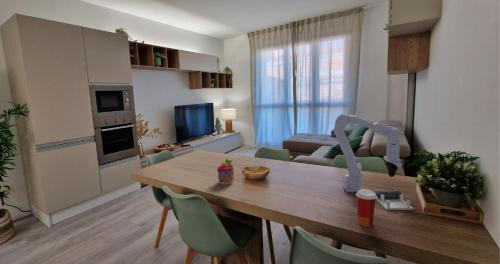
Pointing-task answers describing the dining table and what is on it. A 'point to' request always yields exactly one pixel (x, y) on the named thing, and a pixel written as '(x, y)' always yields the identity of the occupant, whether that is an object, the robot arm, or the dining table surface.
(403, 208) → the board
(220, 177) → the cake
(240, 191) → the dining table surface
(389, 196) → the dark grey capsule
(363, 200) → the paper cup
